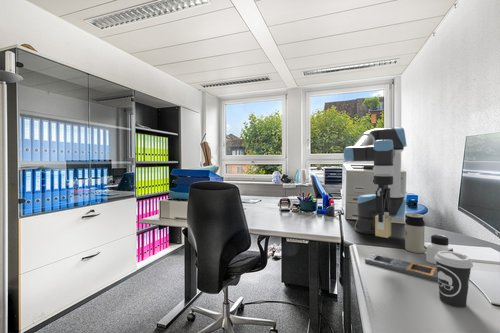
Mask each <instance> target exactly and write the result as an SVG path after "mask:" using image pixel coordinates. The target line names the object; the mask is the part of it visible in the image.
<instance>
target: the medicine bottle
mask: <svg viewBox="0 0 500 333" xmlns="http://www.w3.org/2000/svg"><path fill="white" fill-rule="evenodd" d="M439 251H451V252H454V248H453V247H451V246H449V238H448V237H447V236H446V235H442V234H433V235H432V234H431V236H430V244H429V245H427V246H426V251H425V252H426V256H425V257H426V262H427V263H430V264H434V265H436V266H437V264H436V260H435V259H434V257H435V255H436V254H437V252H439Z"/></svg>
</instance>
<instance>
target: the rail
mask: <svg viewBox="0 0 500 333" xmlns="http://www.w3.org/2000/svg"><path fill="white" fill-rule="evenodd" d="M378 260H379V261H378ZM387 262H389V263H387ZM364 263H366V264H370V265H374V266H376V267H381V268H385V269H388V270H390V271H391V270H392V271H396V272H398V273H402V274H406V275H410V276H414V277H418V278H421V279H425V280H429V281H432V282H436V283H438V274H437V267H432V266H429V265H424V264H420V263H415V262H410V261H406V260H401V259H397V258H394V257H389V256H384V255H380V254H375V253H374V252H373V253H370V255H368V256H367V257H366V258H365V259H364Z"/></svg>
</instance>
